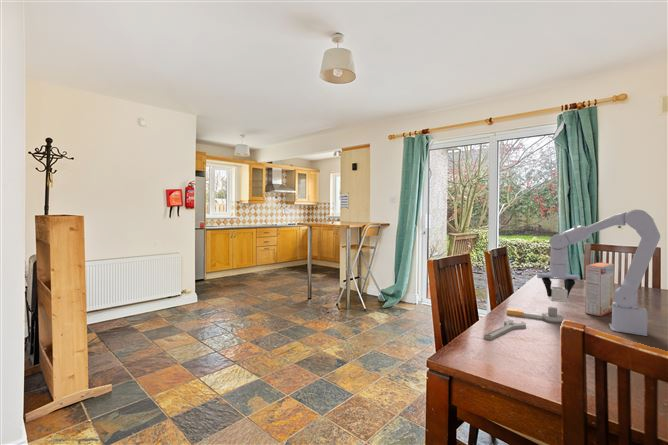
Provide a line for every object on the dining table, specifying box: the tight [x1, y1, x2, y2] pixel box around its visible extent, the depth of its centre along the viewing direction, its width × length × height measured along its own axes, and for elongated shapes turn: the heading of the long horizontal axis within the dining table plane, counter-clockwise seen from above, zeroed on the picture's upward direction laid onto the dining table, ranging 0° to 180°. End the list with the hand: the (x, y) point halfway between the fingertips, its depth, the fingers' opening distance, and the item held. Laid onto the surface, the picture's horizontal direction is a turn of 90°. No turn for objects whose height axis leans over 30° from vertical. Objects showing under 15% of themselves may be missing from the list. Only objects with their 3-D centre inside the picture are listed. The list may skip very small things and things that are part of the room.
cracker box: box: [584, 262, 615, 317], centre depth 141 cm, size 14×6×21 cm, turn 123°
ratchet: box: [506, 306, 564, 325], centre depth 133 cm, size 20×7×5 cm, turn 57°
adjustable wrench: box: [483, 319, 527, 341], centre depth 119 cm, size 25×6×2 cm, turn 123°
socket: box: [547, 285, 569, 303], centre depth 134 cm, size 5×5×5 cm
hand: (557, 296), depth 134 cm, fingers closed on socket, 5 cm apart
